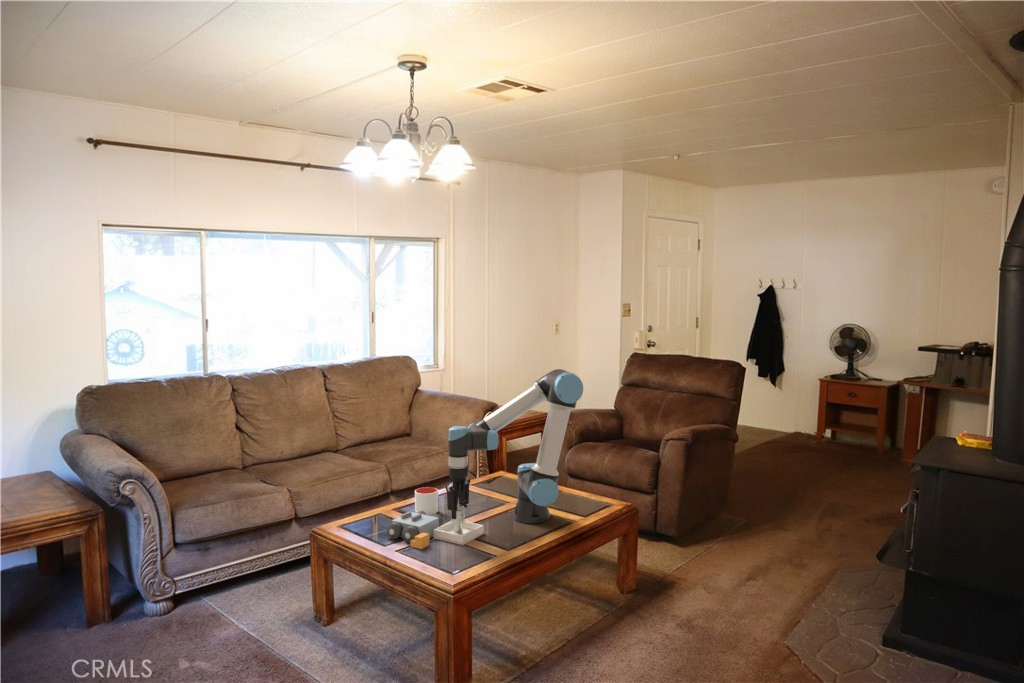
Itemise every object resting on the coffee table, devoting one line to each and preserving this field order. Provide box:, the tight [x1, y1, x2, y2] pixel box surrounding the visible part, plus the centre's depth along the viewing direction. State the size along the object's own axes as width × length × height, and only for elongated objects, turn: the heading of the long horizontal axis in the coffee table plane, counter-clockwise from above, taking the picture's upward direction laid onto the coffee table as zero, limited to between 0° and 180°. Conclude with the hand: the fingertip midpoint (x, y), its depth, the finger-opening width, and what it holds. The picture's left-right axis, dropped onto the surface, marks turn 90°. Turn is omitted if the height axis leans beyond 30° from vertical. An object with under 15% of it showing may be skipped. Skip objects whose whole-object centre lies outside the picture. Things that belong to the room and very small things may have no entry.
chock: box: [410, 532, 430, 550], centre depth 255 cm, size 5×5×4 cm
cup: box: [414, 486, 439, 516], centre depth 292 cm, size 10×10×10 cm
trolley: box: [386, 511, 445, 544], centre depth 267 cm, size 14×19×8 cm
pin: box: [454, 503, 464, 535], centre depth 265 cm, size 5×5×11 cm
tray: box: [433, 520, 485, 546], centre depth 265 cm, size 14×14×3 cm
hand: (458, 524), depth 265 cm, fingers closed on pin, 3 cm apart
